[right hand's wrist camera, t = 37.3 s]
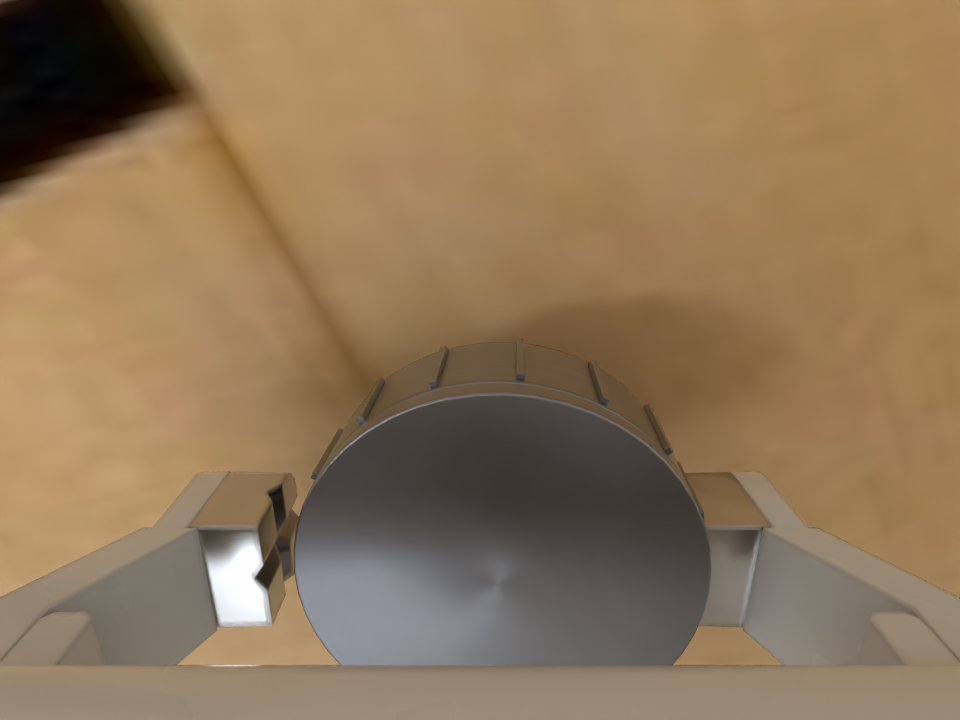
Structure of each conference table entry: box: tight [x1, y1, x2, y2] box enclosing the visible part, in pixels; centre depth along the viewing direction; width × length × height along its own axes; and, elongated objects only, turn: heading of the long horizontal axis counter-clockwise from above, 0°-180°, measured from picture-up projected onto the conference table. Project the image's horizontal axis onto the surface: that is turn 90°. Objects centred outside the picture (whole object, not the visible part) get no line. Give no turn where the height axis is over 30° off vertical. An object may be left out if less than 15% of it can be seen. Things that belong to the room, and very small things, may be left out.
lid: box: [294, 339, 711, 665], centre depth 9 cm, size 6×6×2 cm
